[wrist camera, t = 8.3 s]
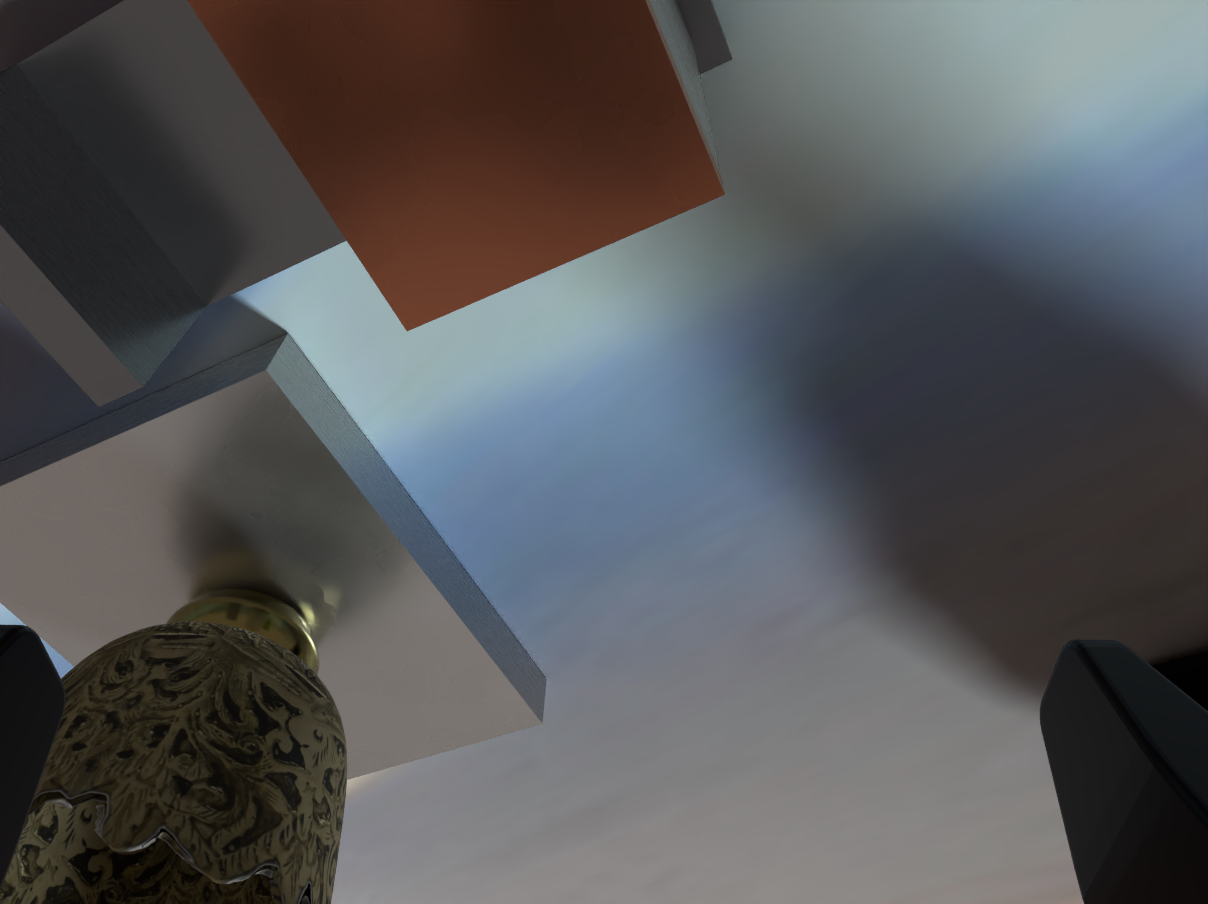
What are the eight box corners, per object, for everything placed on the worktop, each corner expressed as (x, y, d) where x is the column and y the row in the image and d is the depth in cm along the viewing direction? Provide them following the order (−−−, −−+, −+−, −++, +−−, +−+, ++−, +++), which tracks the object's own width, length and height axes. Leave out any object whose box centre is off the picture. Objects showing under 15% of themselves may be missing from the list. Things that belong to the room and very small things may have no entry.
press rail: (727, 44, 17) (750, 113, 13) (185, 302, 20) (98, 407, 17) (605, -284, 14) (596, -299, 11) (4, 74, 17) (-142, 147, 14)
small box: (693, 45, 15) (724, 193, 10) (479, 148, 17) (406, 331, 11) (586, -227, 13) (555, -222, 8) (350, -90, 14) (184, -4, 9)
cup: (134, 717, 25) (-36, 1041, 19) (57, 504, 21) (-197, 831, 15) (412, 733, 26) (337, 1061, 19) (392, 524, 21) (287, 858, 15)
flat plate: (546, 679, 26) (542, 723, 25) (257, 766, 29) (240, 810, 28) (288, 333, 20) (265, 369, 19) (-51, 484, 23) (-89, 525, 22)
